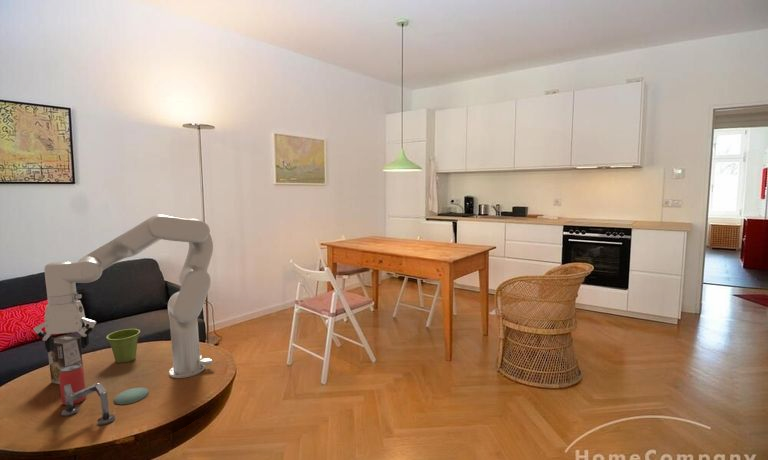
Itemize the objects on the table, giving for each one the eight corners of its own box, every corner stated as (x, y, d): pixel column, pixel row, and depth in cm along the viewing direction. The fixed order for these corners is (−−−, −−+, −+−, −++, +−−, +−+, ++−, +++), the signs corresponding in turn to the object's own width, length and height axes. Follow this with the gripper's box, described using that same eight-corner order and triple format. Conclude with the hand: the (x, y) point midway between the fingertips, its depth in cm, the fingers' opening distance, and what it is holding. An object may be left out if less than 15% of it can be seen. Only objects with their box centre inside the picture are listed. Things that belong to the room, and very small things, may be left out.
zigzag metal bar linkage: (126, 401, 134) (124, 374, 133) (111, 423, 121) (109, 394, 120) (65, 410, 129) (62, 382, 128) (43, 434, 116) (40, 404, 115)
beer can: (73, 407, 131) (69, 372, 130) (56, 405, 132) (52, 370, 131) (91, 396, 137) (87, 363, 136) (75, 395, 139) (72, 362, 137)
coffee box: (85, 378, 151) (81, 337, 149) (67, 386, 145) (62, 343, 143) (68, 374, 154) (64, 334, 152) (50, 382, 148) (45, 341, 146)
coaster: (151, 387, 143) (151, 385, 143) (143, 401, 134) (143, 399, 134) (120, 391, 140) (120, 390, 140) (109, 406, 131) (109, 404, 131)
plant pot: (101, 365, 162) (98, 338, 161) (124, 353, 174) (121, 328, 172) (127, 366, 160) (125, 339, 159) (148, 354, 172) (146, 329, 171)
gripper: (97, 293, 137) (102, 341, 139) (37, 298, 132) (43, 347, 134) (88, 299, 130) (93, 349, 132) (24, 304, 125) (30, 356, 127)
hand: (68, 348), depth 133 cm, fingers open, 9 cm apart
